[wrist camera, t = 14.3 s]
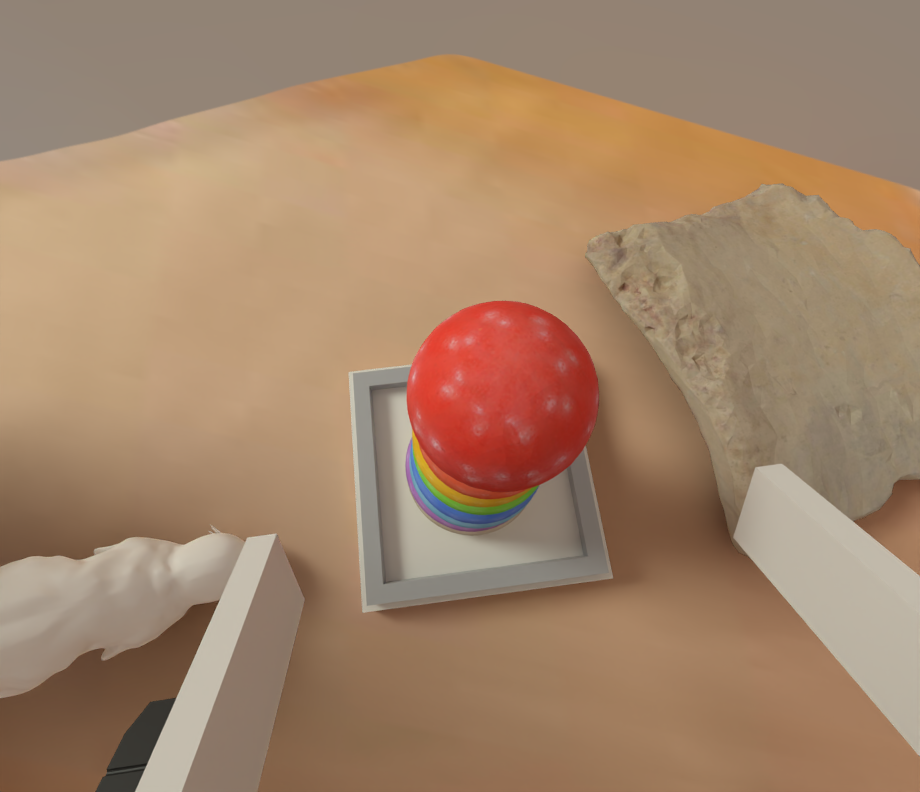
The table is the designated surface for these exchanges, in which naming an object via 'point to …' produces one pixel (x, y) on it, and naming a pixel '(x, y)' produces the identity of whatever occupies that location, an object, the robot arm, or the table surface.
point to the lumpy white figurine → (102, 601)
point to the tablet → (782, 340)
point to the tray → (446, 553)
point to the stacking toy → (495, 413)
